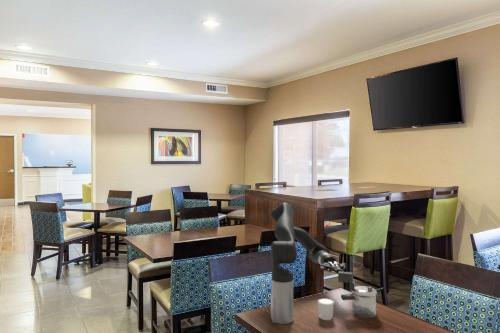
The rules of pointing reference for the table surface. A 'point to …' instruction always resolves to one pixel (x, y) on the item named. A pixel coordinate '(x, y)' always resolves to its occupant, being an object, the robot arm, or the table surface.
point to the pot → (362, 305)
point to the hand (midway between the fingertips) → (339, 271)
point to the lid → (356, 290)
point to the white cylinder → (325, 308)
